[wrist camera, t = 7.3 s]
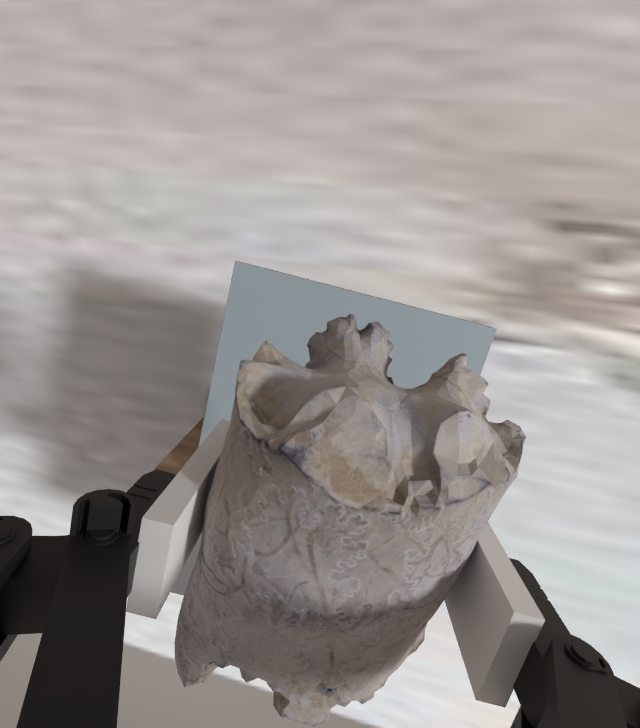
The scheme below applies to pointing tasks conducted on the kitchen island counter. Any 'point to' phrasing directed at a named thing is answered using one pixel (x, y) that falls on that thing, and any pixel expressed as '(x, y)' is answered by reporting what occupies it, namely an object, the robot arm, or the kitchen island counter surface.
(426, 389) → the stone
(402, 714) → the kitchen island counter surface
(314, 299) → the trapdoor
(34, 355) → the kitchen island counter surface
